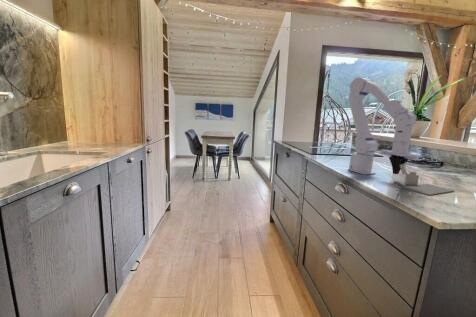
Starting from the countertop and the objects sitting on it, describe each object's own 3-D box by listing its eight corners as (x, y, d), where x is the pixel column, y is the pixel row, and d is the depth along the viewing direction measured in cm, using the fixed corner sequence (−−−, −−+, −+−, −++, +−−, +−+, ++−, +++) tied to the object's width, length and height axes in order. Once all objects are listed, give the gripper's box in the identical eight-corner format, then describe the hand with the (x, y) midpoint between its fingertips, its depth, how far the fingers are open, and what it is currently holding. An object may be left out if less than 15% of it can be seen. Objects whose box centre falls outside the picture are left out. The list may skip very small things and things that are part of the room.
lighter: (415, 184, 98) (419, 165, 96) (417, 185, 96) (421, 166, 94) (395, 181, 100) (399, 163, 99) (396, 182, 99) (400, 163, 97)
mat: (402, 187, 92) (402, 186, 92) (427, 184, 98) (427, 183, 98) (428, 195, 84) (428, 194, 84) (453, 191, 90) (454, 190, 90)
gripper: (426, 144, 94) (419, 177, 97) (390, 139, 107) (385, 169, 110) (415, 144, 92) (408, 178, 94) (380, 139, 105) (375, 169, 107)
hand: (395, 173), depth 102 cm, fingers closed
